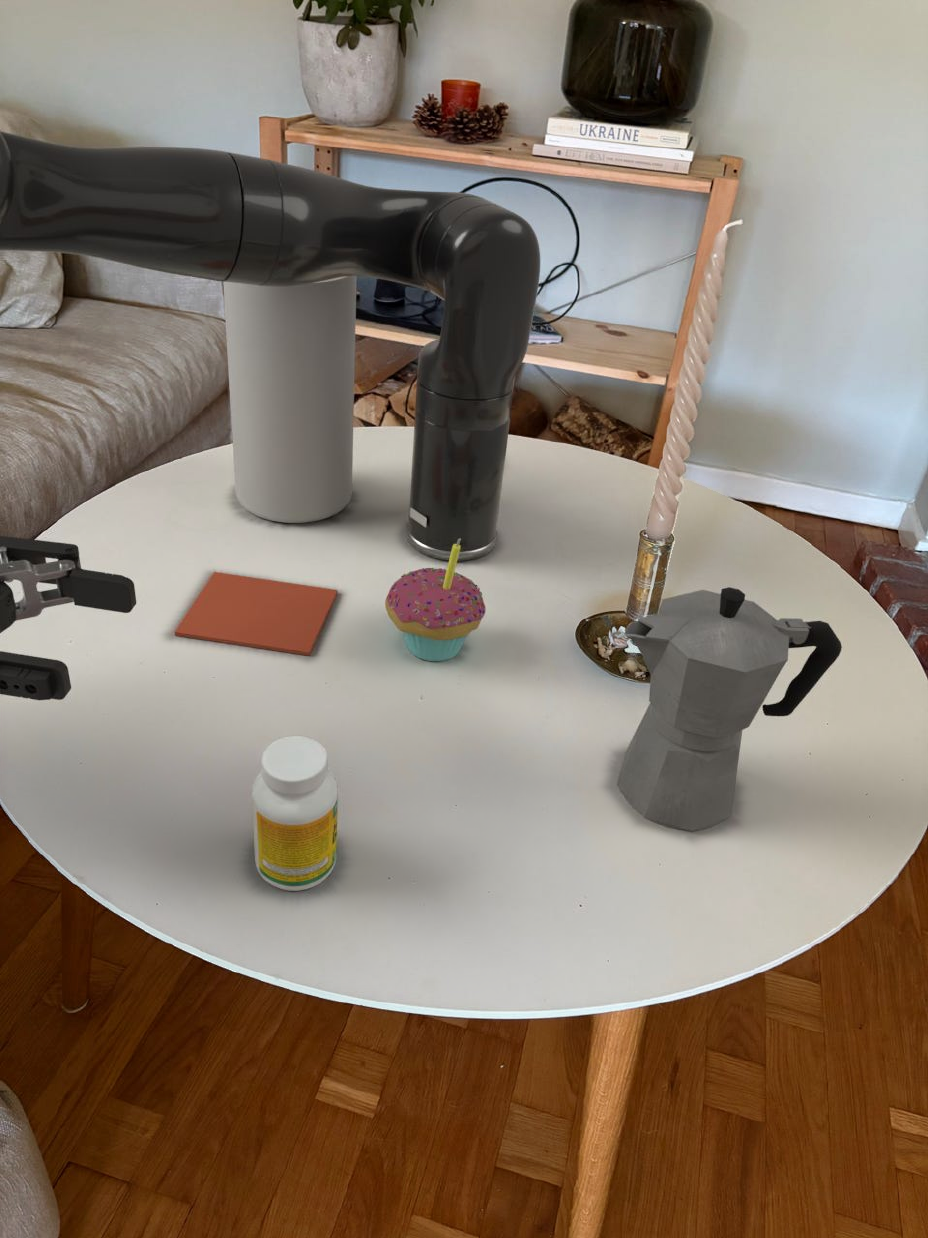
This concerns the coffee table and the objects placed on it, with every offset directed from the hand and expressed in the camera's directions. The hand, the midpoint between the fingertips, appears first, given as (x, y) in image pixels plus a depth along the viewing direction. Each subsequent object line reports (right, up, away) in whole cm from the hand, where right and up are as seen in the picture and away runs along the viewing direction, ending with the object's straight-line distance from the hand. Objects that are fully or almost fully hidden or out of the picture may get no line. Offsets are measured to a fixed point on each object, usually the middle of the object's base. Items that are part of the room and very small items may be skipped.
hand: (102, 636), depth 55 cm
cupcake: (+18, -2, +30) cm, 35 cm away
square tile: (+2, +1, +32) cm, 32 cm away
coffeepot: (+38, -12, +18) cm, 44 cm away
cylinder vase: (+2, +14, +50) cm, 52 cm away
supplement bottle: (+10, -15, +9) cm, 20 cm away
